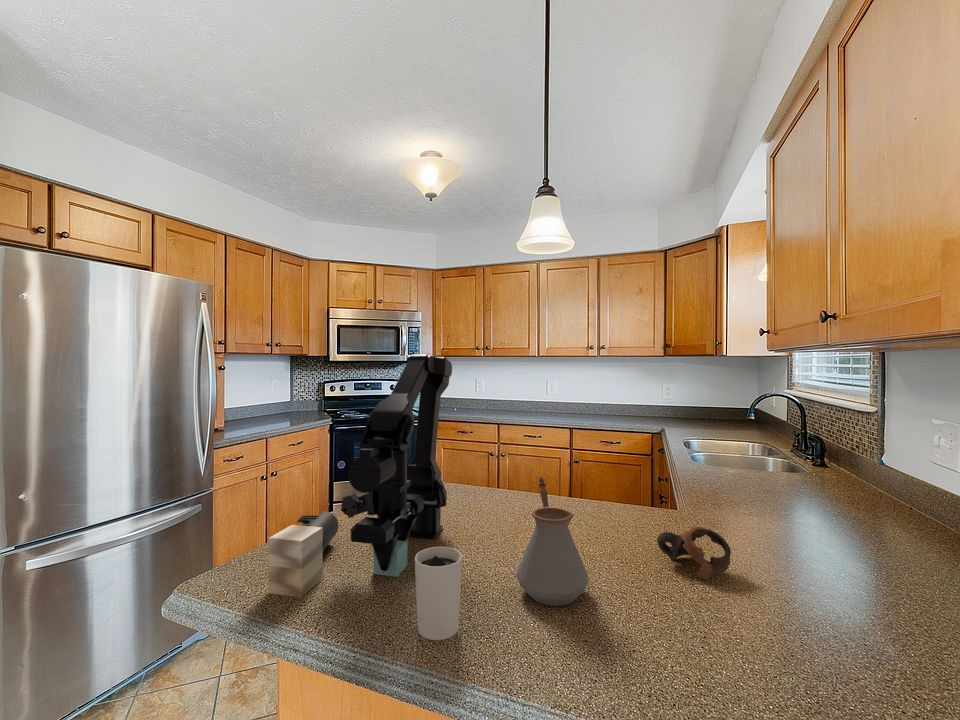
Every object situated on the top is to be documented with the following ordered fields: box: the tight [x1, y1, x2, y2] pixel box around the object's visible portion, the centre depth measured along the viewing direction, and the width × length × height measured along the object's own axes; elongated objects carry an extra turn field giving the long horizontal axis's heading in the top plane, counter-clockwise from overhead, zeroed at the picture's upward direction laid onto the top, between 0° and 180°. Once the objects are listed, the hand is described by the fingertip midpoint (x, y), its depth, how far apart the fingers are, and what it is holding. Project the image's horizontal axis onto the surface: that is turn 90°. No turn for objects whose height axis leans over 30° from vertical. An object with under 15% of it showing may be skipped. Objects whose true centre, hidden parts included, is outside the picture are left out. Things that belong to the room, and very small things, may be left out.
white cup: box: [414, 546, 463, 641], centre depth 63 cm, size 7×7×10 cm
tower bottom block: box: [267, 553, 324, 598], centre depth 74 cm, size 6×6×4 cm
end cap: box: [297, 510, 339, 552], centre depth 87 cm, size 10×7×7 cm
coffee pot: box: [516, 476, 589, 606], centre depth 77 cm, size 21×12×15 cm, turn 179°
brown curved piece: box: [656, 526, 732, 581], centre depth 81 cm, size 12×10×8 cm
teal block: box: [373, 540, 408, 578], centre depth 80 cm, size 4×4×4 cm
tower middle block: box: [268, 524, 324, 569], centre depth 74 cm, size 6×6×4 cm
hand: (390, 563), depth 80 cm, fingers open, 5 cm apart
